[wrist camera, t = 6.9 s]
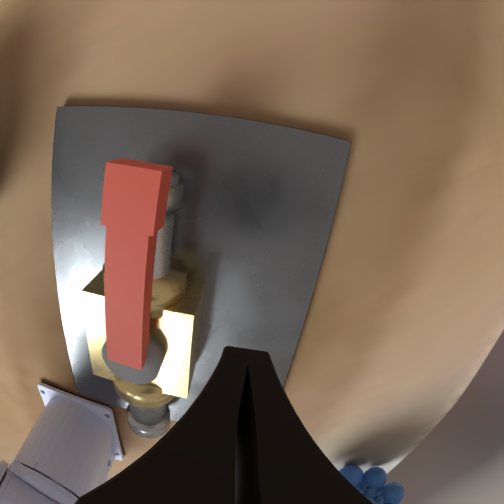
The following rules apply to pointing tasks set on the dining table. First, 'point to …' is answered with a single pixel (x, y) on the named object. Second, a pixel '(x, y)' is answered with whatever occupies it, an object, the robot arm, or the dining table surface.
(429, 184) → the dining table surface
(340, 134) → the dining table surface
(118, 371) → the lever
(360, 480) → the grapes
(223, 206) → the valve body
